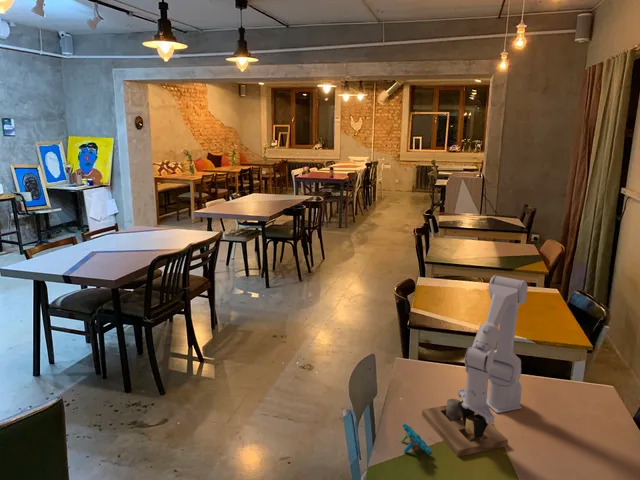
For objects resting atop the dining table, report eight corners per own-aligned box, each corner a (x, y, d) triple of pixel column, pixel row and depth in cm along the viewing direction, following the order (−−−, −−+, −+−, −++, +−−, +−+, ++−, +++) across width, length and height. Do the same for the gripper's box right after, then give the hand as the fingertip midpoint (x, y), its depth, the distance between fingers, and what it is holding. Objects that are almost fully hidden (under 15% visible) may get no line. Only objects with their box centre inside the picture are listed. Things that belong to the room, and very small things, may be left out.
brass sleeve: (473, 431, 138) (475, 413, 136) (484, 440, 134) (486, 422, 132) (461, 435, 136) (462, 417, 135) (471, 444, 132) (473, 426, 131)
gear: (438, 456, 126) (412, 433, 124) (423, 472, 126) (397, 450, 124) (424, 436, 137) (400, 414, 135) (410, 451, 137) (386, 429, 135)
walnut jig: (466, 407, 151) (467, 390, 150) (507, 445, 133) (509, 427, 131) (422, 415, 147) (423, 398, 146) (457, 456, 128) (459, 437, 127)
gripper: (450, 377, 137) (447, 419, 140) (479, 404, 124) (476, 449, 127) (470, 374, 139) (467, 415, 142) (502, 400, 126) (498, 445, 129)
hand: (473, 431), depth 135 cm, fingers closed on brass sleeve, 4 cm apart
